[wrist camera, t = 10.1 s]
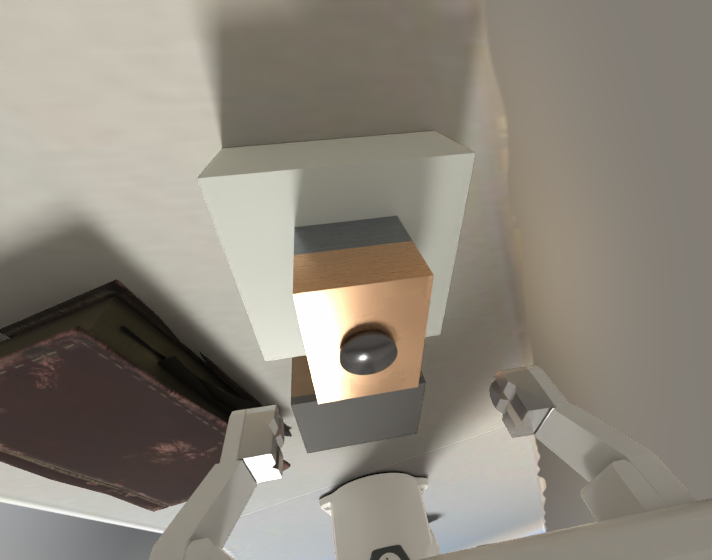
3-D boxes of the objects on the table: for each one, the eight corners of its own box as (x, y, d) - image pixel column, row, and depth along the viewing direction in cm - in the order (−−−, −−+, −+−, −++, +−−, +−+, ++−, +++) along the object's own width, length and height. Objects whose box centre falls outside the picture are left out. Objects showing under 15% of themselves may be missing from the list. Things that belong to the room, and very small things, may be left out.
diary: (163, 468, 37) (147, 517, 33) (-83, 358, 22) (-168, 426, 18) (298, 424, 35) (297, 470, 31) (130, 271, 20) (87, 324, 16)
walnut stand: (399, 377, 32) (416, 433, 27) (306, 392, 31) (307, 453, 26) (403, 325, 27) (425, 382, 22) (292, 341, 26) (291, 405, 21)
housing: (397, 215, 14) (438, 282, 10) (392, 317, 19) (420, 394, 14) (294, 227, 14) (292, 302, 10) (314, 329, 18) (318, 411, 14)
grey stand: (417, 289, 24) (440, 334, 20) (270, 309, 23) (265, 361, 19) (434, 130, 17) (475, 152, 13) (222, 148, 16) (196, 178, 12)
